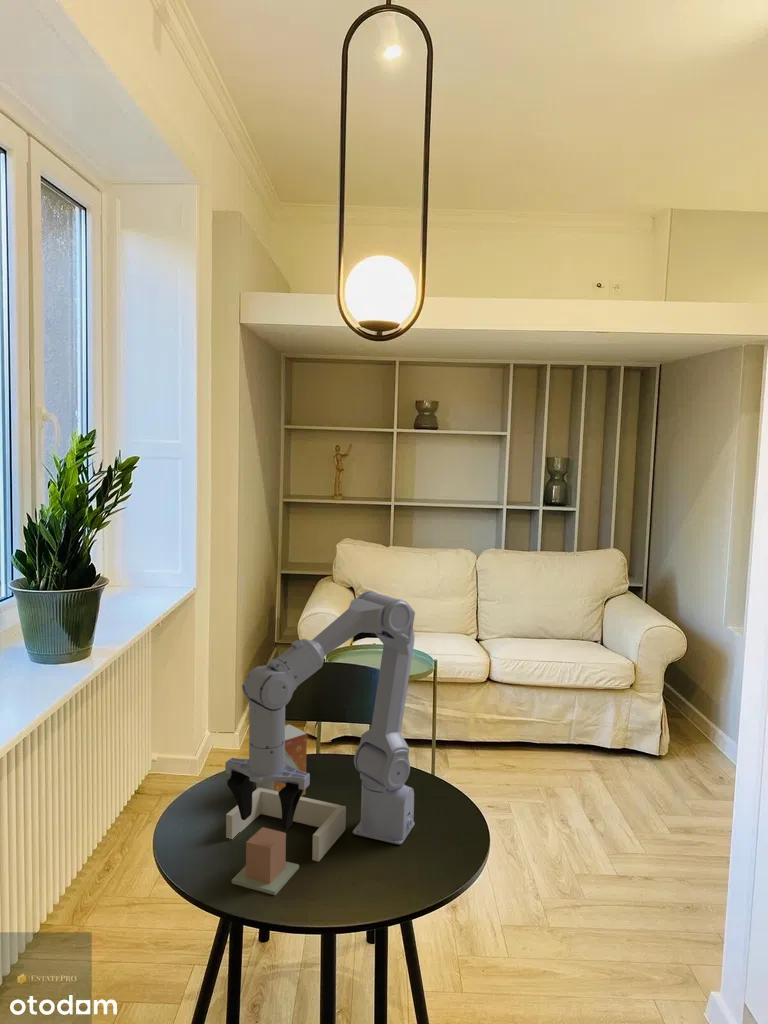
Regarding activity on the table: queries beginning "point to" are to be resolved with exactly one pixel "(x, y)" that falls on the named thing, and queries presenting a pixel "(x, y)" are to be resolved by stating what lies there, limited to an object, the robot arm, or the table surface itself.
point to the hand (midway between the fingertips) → (266, 821)
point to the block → (265, 855)
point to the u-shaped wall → (294, 818)
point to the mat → (262, 886)
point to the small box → (291, 756)
